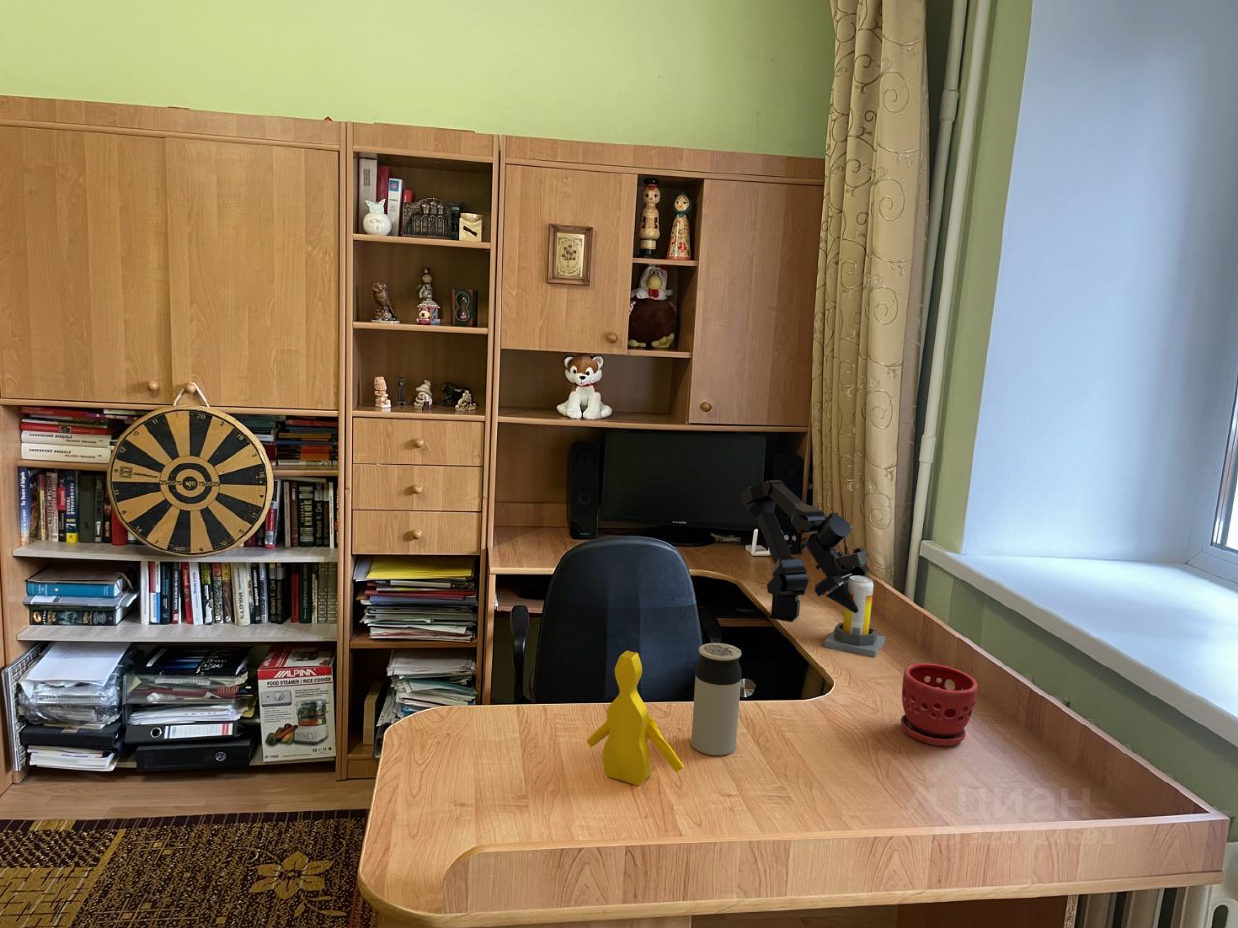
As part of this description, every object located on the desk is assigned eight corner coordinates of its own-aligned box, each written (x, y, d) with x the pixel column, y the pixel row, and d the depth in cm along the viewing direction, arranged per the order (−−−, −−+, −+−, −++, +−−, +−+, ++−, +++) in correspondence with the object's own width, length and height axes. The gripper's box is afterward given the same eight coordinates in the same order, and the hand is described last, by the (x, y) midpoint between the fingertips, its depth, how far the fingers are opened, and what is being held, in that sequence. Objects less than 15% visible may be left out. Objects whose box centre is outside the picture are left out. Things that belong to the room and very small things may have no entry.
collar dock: (824, 646, 211) (825, 630, 210) (836, 632, 221) (837, 617, 221) (875, 657, 205) (876, 640, 205) (884, 642, 216) (886, 626, 215)
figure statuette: (687, 781, 144) (695, 653, 141) (668, 803, 137) (676, 668, 134) (592, 753, 152) (598, 631, 149) (569, 772, 145) (575, 645, 142)
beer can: (865, 635, 216) (871, 576, 214) (869, 643, 210) (876, 583, 208) (840, 632, 217) (846, 574, 214) (843, 641, 211) (850, 581, 208)
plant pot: (896, 743, 162) (902, 681, 160) (899, 715, 174) (905, 657, 172) (972, 758, 157) (979, 694, 155) (970, 728, 169) (976, 669, 168)
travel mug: (706, 760, 152) (713, 660, 149) (682, 740, 158) (688, 645, 156) (744, 752, 155) (752, 654, 153) (719, 733, 162) (725, 639, 159)
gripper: (830, 543, 205) (870, 600, 200) (866, 531, 219) (904, 584, 214) (798, 568, 211) (835, 624, 206) (834, 555, 225) (870, 607, 220)
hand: (863, 609), depth 211 cm, fingers closed on beer can, 6 cm apart
